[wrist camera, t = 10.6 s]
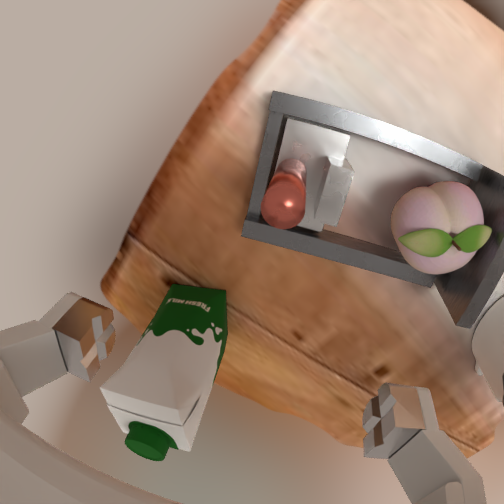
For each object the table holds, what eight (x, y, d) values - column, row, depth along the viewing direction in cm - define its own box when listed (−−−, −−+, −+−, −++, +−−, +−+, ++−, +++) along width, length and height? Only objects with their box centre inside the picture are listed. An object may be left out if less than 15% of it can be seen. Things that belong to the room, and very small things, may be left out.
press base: (490, 169, 26) (537, 195, 18) (443, 280, 32) (470, 328, 25) (276, 91, 27) (263, 87, 19) (246, 225, 34) (226, 267, 26)
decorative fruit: (387, 253, 32) (410, 309, 24) (374, 182, 29) (399, 218, 20) (462, 234, 30) (503, 281, 21) (455, 163, 26) (505, 192, 18)
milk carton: (173, 330, 43) (111, 447, 25) (165, 275, 39) (79, 397, 21) (235, 339, 42) (192, 472, 24) (233, 283, 37) (175, 428, 20)
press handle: (353, 135, 27) (379, 156, 17) (325, 226, 32) (331, 290, 22) (288, 117, 28) (277, 126, 17) (266, 210, 33) (244, 268, 22)
